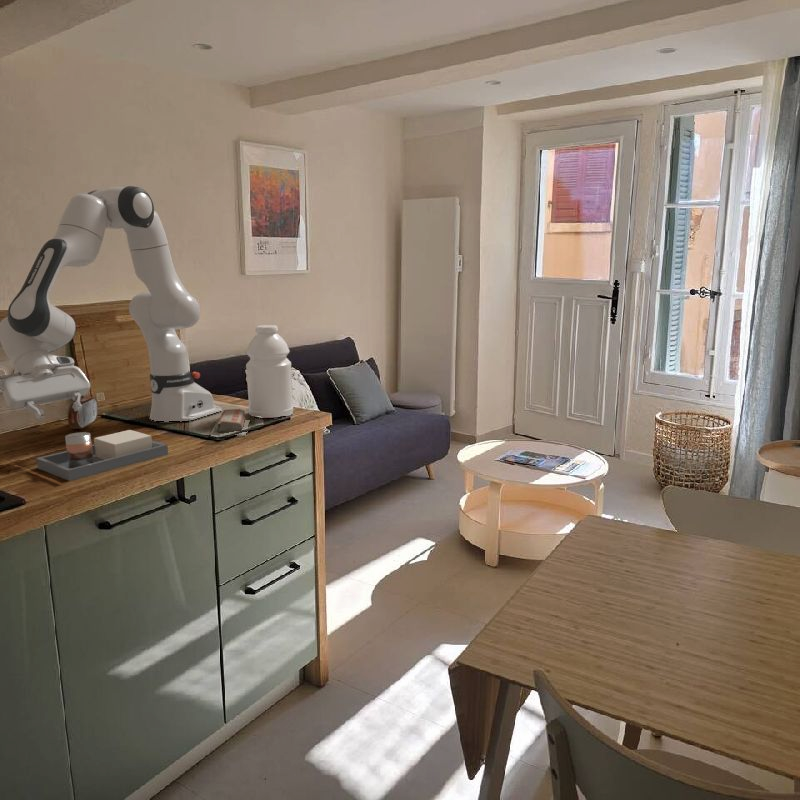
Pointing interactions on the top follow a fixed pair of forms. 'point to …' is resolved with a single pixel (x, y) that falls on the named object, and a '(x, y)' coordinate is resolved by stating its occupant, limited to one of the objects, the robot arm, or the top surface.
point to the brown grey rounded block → (83, 413)
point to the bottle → (269, 374)
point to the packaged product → (230, 422)
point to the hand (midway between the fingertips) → (60, 413)
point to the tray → (96, 462)
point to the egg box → (121, 444)
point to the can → (79, 449)
